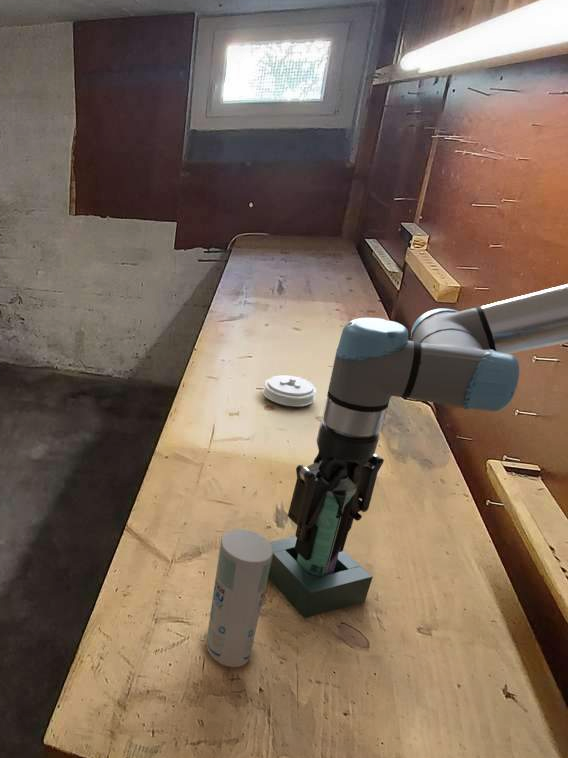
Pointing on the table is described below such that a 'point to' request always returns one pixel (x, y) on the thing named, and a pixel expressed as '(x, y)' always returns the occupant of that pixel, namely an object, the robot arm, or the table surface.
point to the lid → (289, 390)
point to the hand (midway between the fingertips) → (318, 549)
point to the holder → (317, 581)
